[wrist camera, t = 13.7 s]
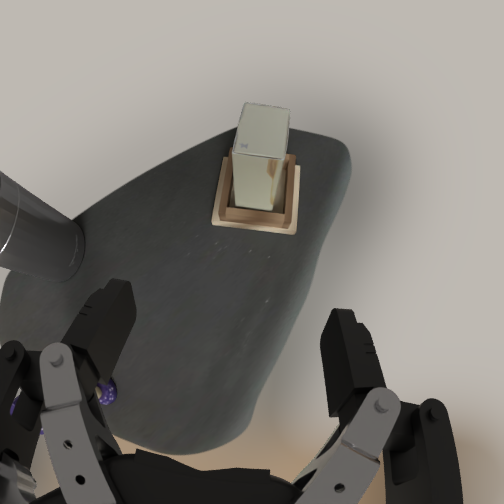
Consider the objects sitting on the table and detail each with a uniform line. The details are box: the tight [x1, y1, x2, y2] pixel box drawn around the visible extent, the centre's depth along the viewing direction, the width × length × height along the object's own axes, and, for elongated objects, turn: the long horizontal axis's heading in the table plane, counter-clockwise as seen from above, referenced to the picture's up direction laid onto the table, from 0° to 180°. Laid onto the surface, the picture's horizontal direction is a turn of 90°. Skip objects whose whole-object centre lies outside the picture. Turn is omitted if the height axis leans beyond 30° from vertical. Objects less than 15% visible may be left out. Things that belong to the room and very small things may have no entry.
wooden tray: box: [212, 147, 300, 235], centre depth 32 cm, size 10×9×4 cm
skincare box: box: [232, 102, 290, 213], centre depth 27 cm, size 6×4×12 cm
